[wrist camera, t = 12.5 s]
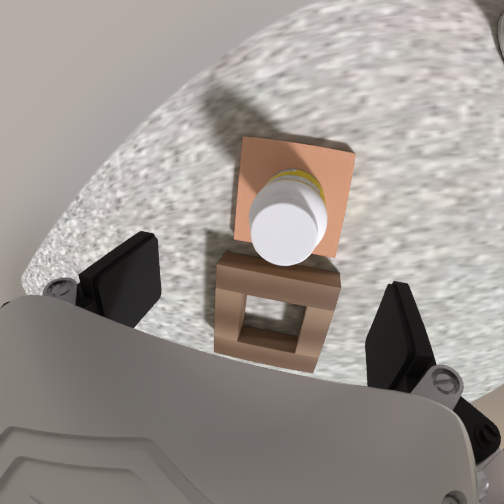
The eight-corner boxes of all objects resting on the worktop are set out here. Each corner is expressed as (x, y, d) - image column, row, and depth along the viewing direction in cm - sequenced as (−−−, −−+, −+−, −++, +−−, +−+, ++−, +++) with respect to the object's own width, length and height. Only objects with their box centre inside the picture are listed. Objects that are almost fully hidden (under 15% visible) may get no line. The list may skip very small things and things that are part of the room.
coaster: (245, 136, 25) (242, 136, 24) (354, 152, 24) (355, 153, 23) (236, 235, 29) (233, 239, 29) (334, 253, 28) (334, 257, 27)
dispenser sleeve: (225, 251, 30) (216, 264, 28) (339, 273, 29) (341, 288, 26) (221, 336, 36) (213, 352, 33) (314, 356, 34) (313, 373, 31)
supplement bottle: (307, 235, 27) (301, 290, 18) (255, 209, 27) (223, 252, 18) (335, 184, 24) (346, 218, 15) (280, 156, 24) (258, 173, 16)
